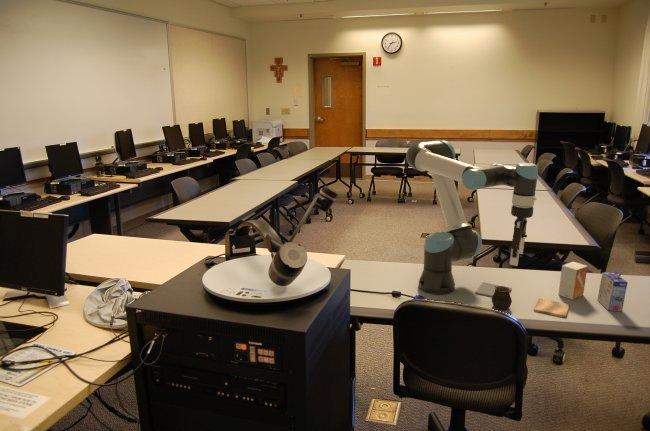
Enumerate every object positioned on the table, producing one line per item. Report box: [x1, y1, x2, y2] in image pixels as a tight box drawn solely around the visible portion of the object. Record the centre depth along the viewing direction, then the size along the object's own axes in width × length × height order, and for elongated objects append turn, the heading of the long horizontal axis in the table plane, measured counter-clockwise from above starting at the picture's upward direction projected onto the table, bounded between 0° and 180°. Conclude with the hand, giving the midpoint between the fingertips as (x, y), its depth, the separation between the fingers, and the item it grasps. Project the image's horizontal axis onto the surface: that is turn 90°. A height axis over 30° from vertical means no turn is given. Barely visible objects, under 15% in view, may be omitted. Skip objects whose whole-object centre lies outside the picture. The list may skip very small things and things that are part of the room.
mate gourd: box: [491, 285, 513, 311], centre depth 186 cm, size 7×8×10 cm
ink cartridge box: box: [597, 269, 628, 312], centre depth 185 cm, size 10×6×14 cm, turn 174°
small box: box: [558, 261, 588, 301], centre depth 195 cm, size 8×6×13 cm
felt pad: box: [475, 282, 512, 298], centre depth 201 cm, size 12×12×1 cm
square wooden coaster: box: [533, 298, 570, 319], centre depth 186 cm, size 11×11×1 cm
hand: (516, 259), depth 183 cm, fingers open, 13 cm apart
